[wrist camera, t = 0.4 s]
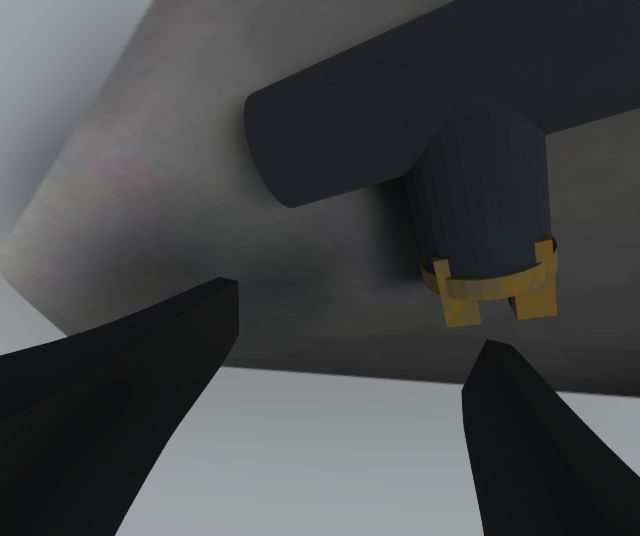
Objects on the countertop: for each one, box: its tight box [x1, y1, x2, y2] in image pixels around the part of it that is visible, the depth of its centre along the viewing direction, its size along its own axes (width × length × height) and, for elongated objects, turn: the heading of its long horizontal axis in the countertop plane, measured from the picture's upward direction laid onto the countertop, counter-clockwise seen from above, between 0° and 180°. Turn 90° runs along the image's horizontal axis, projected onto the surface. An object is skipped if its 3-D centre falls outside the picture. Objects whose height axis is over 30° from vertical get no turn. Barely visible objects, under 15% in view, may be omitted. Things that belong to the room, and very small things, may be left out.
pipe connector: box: [244, 0, 640, 328], centre depth 13 cm, size 12×5×15 cm
